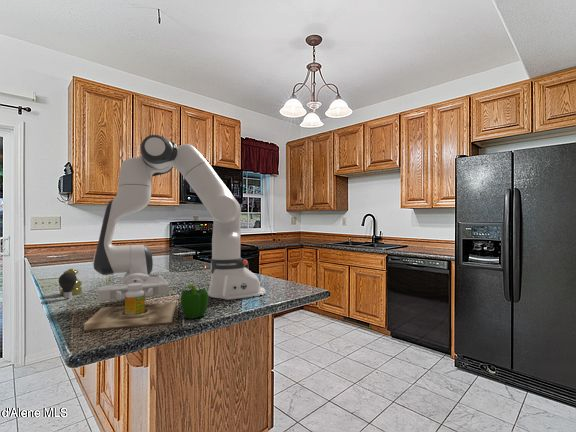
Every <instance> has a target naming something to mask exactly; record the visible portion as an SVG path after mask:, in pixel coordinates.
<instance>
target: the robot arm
mask: <svg viewBox="0 0 576 432" xmlns="http://www.w3.org/2000/svg"><path fill="white" fill-rule="evenodd" d="M139 149H140V154H141V155H140V156H138V157H130V158H126V159H124V160H123V161H122V163H121V165H120V170H119V174H118V175H119V176H118V189H117V193H116V195H115V197H113V199H112V200H109V202H108V203H107V206H106V207H105V212H104V215H103V218H102V219H103V220H102V225H101V229H100V233H99V239H98V242H97V247H96V249H95V252H94V254H93V255H94V256H93V260H92V266H93V269H94V270H95V271H96V272H97V273H98V274H100V275H102V276H107V275H108V276H109V275H114V274H122V273H123V274H124V273H125V274H124V276H123V277H122V279H121V283H117V284H108V285H102V286H101V287H99V289H98V290H97V301H98V302H109V301H118V300H119V301H125V293H126V292H128V289H127V286H128V284H132V283H142V289H141V290H143V291H144V292H145V299H146V298H150V297H158V296H166V295H169V294H170V283H169V282H168V280H167V279H165V278H163V275H160V274H159V275H158V274H151V273H152V271H153V265H154V264H153V263H154V262H153V261H154V260H153V255H152V251H151V249H150V247H148V246H147V245H146V244H130V245H127V244H125V245H114V244H112V242H113V237H114V233H115V232H114V231H115V229H116V228H115V227H116V224H117V222H118V221H119V220H120V219H122V218H124V217H126V216H129V215H132V214H135V213H138V212H139V211H140V212H141V210H143V209H144V208H146V207H147V206H148V205H149V204H150V202H151V200H152V177H156V176H160V175H161V176H162V175H165V174H168V173H169V172H171V171H172V170H173V168H175V169H176V170H177V171H178V172H179V173H180V174H181V175H182V177H183V178H184V179H185V181H186V182H187V183H188V185H189V186H190V187H191V189H192V191H194V193H195V194H196V195H197V196H198V198H199V200H200V202H201V203H202V204H203V206H204V207H205V209H206V210H207V212H208V213H209V215H210V216H211V217H212V218H213V225H212V238H211V259H210V273H211V277H210V278H211V279H210V284H209V289H208V291H207V293H208V295H209V298H210V297H211V298H215V299H223V300H226V301H228V300H236V299H245V298H253V296H254V297H259V296H260V295H262V296H265V295H266V293H267V292H266V289H265V288H264V287H262V286H261V283H260V280H259V277H258V276H257V275H256V274H255V273H253V272H252V271H251V270H249V268H247V267H246V266H247V265H248V264H249V261H248V260H247V259H244V258H242V257H241V224H242V223H241V220H242V209H241V205H240V203H239V202H238V200H237V199H236V197H234V195H233V193H232V192H231V191H230V190H229V188H228V187H227V186H226V184H225V183H224V182H223V180H222V179H221V177H220V176H219V175H218V173H217V172H216V171H215V170H214V168H213V167H212V165H211V164H210V163H209V161H207V159H206V158H205V157H204V156H203V154H202V153H201V152H200V151H199V150H198V149H197V148H196V147H194V146H193V145H192V144H189V143H183V144H181V145H178V146H177V144H176V143H175V142H173V141H171V140H169V139H167V138H166V137H164V136H162V135H158V134H150V135H148V136H146V137H145V138H144V139H143V140H142V142H141V144H140V148H139ZM264 294H265V295H264ZM260 297H261V296H260Z"/></svg>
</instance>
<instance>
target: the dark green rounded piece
mask: <svg viewBox="0 0 576 432" xmlns="http://www.w3.org/2000/svg"><path fill="white" fill-rule="evenodd" d="M67 272H71V273H73V274H75V275H76V276H77V274H78V273H79V270H77V269H75V268H69V269H68V270H65V271H63V274H64V273H67ZM82 285H83V282H82V281H81V280H79V279H78V278H77V281H76V284H75V285H74V287H73V290H72V296H76V295H79V294H81V293H83V287H82ZM59 287H60V289H59V296H62V297H64V292H63V289H62V287H61V286H60V285H59Z"/></svg>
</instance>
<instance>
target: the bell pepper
mask: <svg viewBox="0 0 576 432" xmlns="http://www.w3.org/2000/svg"><path fill="white" fill-rule="evenodd" d="M187 289H188V290H187ZM187 289H184V290H183V291H182V293H181V296H180V307H181V309H182V313H183V315H184V317H185V318H186V319H190V320H192V319H193V320H194V319H197V318H199V317H204V315H205V314H206V312H207V309H208V305H209V298H210V296H209V295H208V291H207V290H206V289H205V288H201V289H196V286H195V285H194V284H189V285H188V286H187Z"/></svg>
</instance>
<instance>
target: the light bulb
mask: <svg viewBox="0 0 576 432" xmlns="http://www.w3.org/2000/svg"><path fill="white" fill-rule="evenodd" d="M77 279H78V277H77V274H76V275H75V274H73V273H71V272H67V273H64V272H63V274H61V275H60V276H59V278H58V284H59V287H60V286H61V287H62V288H61V287H60V288H61V289H63V292H64V296H63V298H64V299H65V300H70V299H71V298H72V296H73V295H72V290H73V287H74V285H75V284H76V281H77Z"/></svg>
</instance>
